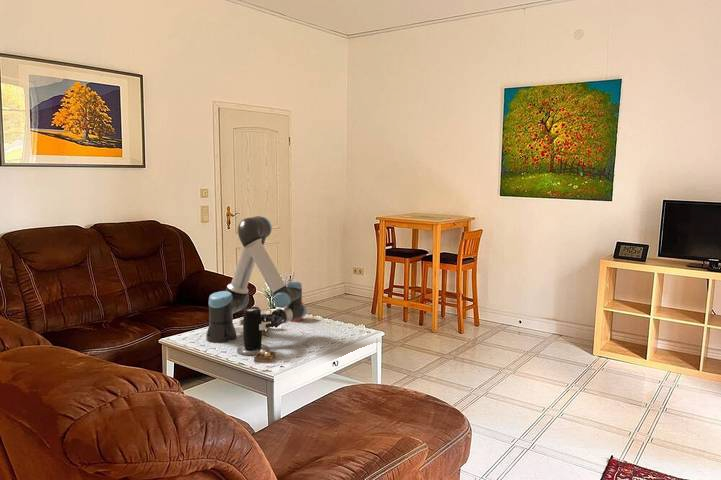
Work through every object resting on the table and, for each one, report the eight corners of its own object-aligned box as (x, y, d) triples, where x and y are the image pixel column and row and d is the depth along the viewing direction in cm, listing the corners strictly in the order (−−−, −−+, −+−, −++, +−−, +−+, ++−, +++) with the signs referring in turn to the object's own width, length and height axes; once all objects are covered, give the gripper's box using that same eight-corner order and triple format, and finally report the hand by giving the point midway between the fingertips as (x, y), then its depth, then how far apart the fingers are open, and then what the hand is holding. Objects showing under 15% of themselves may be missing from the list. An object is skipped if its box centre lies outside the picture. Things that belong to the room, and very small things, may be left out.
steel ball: (260, 354, 256) (260, 348, 255) (267, 354, 255) (267, 348, 255) (258, 356, 253) (258, 350, 252) (265, 356, 252) (265, 350, 252)
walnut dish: (259, 355, 257) (258, 351, 257) (275, 356, 256) (275, 352, 256) (254, 361, 249) (254, 357, 249) (271, 362, 248) (271, 357, 248)
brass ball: (265, 357, 252) (264, 350, 252) (271, 357, 252) (271, 351, 252) (263, 359, 249) (263, 352, 249) (269, 359, 249) (269, 353, 249)
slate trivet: (242, 345, 272) (242, 343, 272) (272, 346, 271) (272, 344, 271) (232, 355, 258) (232, 352, 257) (264, 356, 256) (263, 354, 256)
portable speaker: (254, 344, 270) (254, 305, 268) (265, 348, 264) (265, 308, 261) (239, 348, 265) (239, 308, 262) (250, 352, 258) (249, 311, 256)
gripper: (299, 327, 271) (268, 337, 254) (264, 319, 286) (232, 328, 269) (299, 312, 270) (268, 321, 253) (264, 305, 285) (232, 313, 268)
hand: (249, 325), depth 261 cm, fingers open, 13 cm apart
